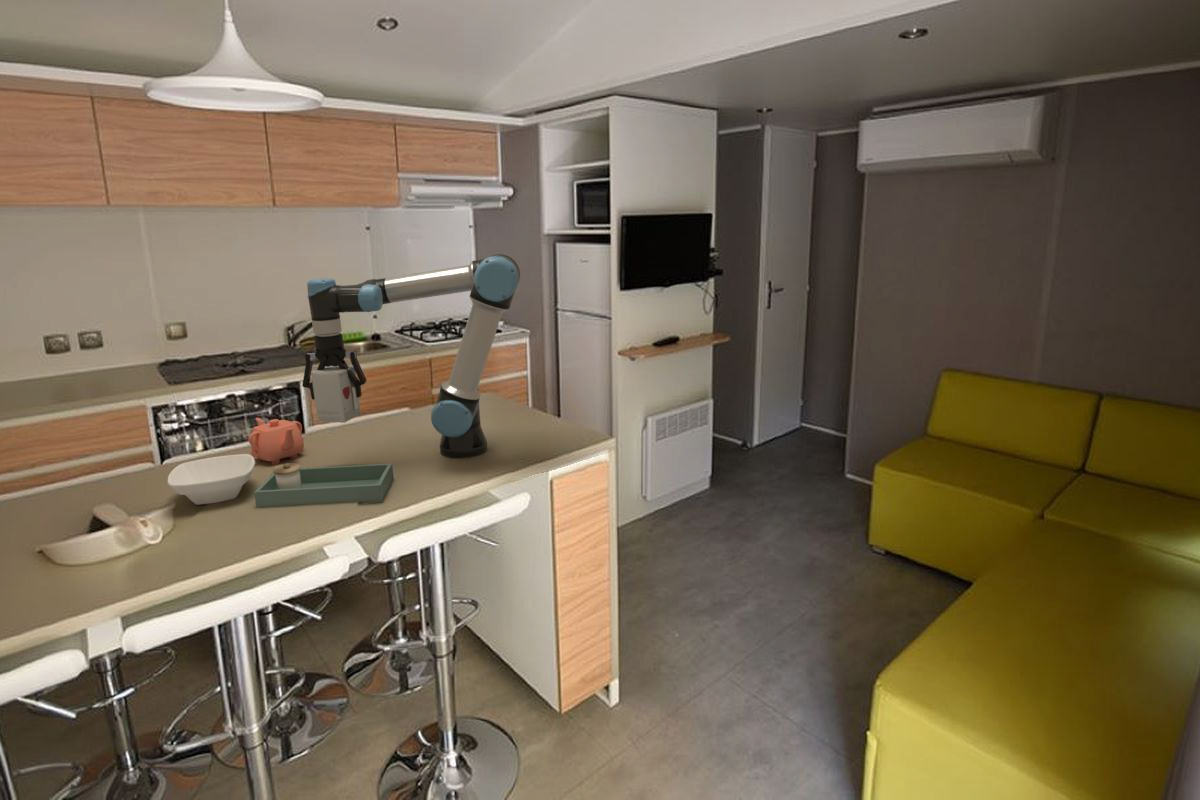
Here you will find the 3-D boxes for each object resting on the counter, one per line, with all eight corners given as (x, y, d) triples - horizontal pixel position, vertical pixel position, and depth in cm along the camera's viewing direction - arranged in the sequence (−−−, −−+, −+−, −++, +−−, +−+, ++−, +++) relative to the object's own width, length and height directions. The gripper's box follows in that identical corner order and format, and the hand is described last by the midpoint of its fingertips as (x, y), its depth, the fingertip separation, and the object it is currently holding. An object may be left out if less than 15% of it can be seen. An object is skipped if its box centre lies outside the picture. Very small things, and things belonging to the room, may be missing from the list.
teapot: (298, 465, 206) (292, 426, 203) (242, 468, 205) (235, 428, 202) (313, 448, 221) (308, 412, 217) (261, 451, 219) (255, 414, 216)
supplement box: (345, 423, 192) (338, 372, 188) (317, 422, 194) (309, 371, 190) (361, 414, 201) (355, 365, 197) (334, 413, 203) (327, 364, 198)
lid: (304, 464, 185) (303, 459, 185) (296, 473, 179) (295, 468, 178) (278, 466, 184) (277, 460, 184) (269, 475, 178) (268, 469, 177)
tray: (393, 479, 194) (392, 463, 192) (382, 502, 178) (380, 485, 177) (278, 486, 191) (276, 469, 189) (256, 510, 175) (253, 492, 174)
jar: (305, 488, 187) (302, 464, 185) (298, 497, 181) (294, 473, 179) (283, 489, 186) (279, 466, 184) (275, 498, 180) (271, 474, 178)
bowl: (167, 520, 171) (161, 489, 168) (180, 490, 189) (174, 462, 187) (257, 505, 179) (252, 475, 176) (261, 478, 197) (256, 450, 195)
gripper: (371, 329, 195) (380, 403, 201) (291, 333, 193) (302, 407, 199) (365, 334, 188) (375, 410, 194) (282, 338, 186) (294, 414, 192)
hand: (338, 408), depth 197 cm, fingers closed on supplement box, 10 cm apart
